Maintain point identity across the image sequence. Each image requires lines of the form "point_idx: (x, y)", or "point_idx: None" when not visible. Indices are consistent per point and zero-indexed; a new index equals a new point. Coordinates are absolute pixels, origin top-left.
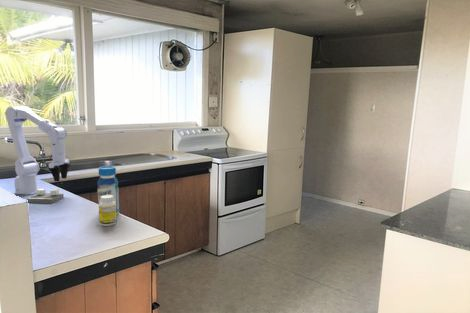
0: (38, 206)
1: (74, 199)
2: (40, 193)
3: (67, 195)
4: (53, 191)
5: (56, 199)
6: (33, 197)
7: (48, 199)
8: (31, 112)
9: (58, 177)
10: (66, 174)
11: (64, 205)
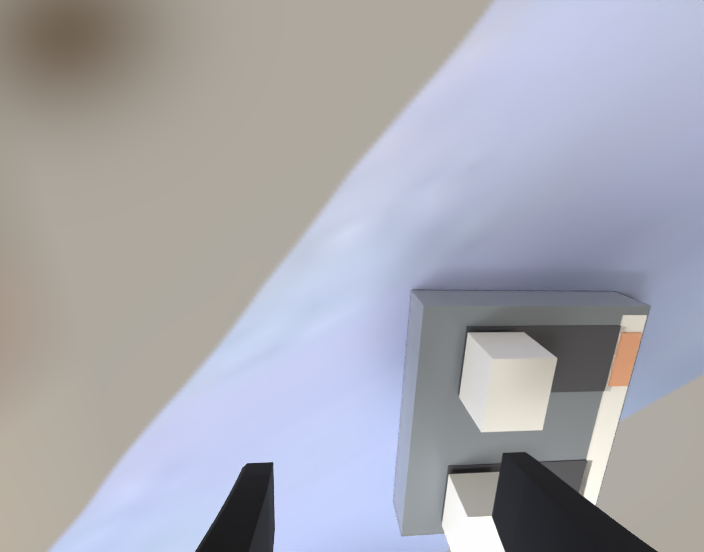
0: (686, 350)
1: (476, 134)
2: None
3: (316, 299)
4: (543, 385)
5: (547, 296)
6: None
7: (639, 335)
8: None
9: (599, 509)
10: (246, 528)
11: (697, 128)
